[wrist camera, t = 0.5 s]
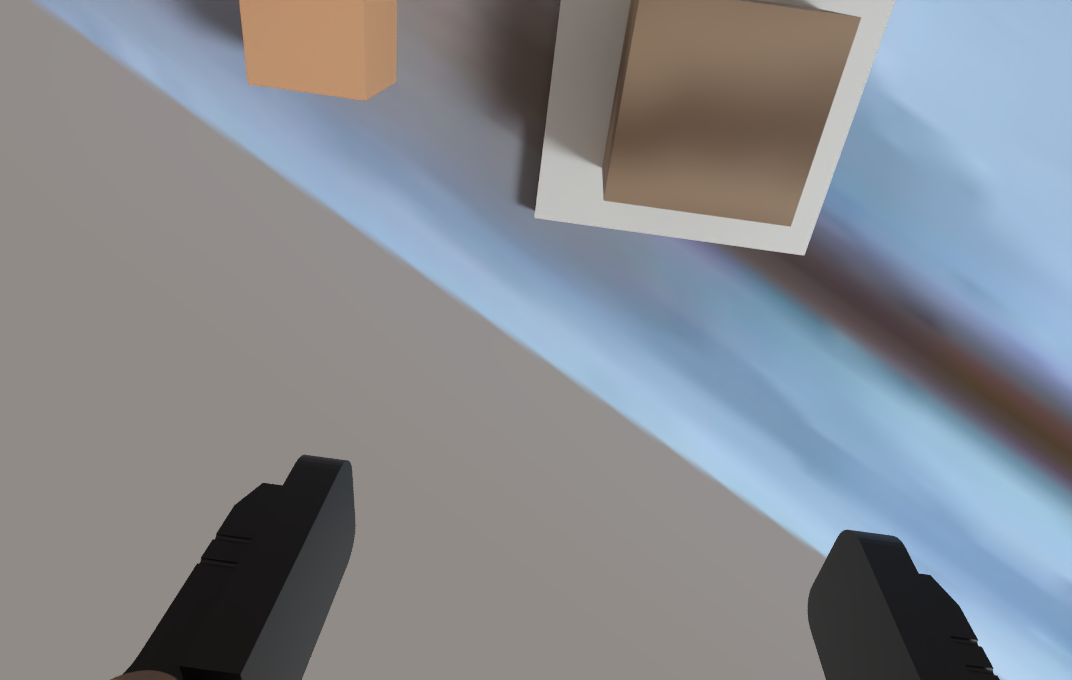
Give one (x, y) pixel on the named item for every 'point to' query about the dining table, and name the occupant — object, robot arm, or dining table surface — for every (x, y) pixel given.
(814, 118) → the walnut base block
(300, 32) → the terracotta block
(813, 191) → the grey plate
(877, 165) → the dining table surface
